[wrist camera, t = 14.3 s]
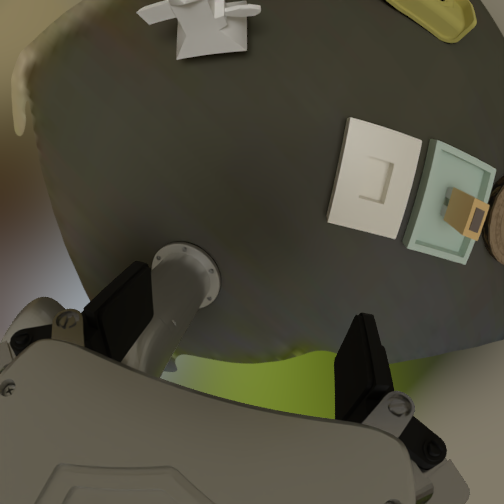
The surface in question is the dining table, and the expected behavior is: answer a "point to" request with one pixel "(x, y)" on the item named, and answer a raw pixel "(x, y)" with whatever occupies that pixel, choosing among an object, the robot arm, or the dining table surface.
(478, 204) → the tan rectangular block
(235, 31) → the white faceted figurine
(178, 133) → the dining table surface
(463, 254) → the tray
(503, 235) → the wood slice coaster
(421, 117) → the dining table surface
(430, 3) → the plastic component
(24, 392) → the robot arm
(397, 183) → the block
